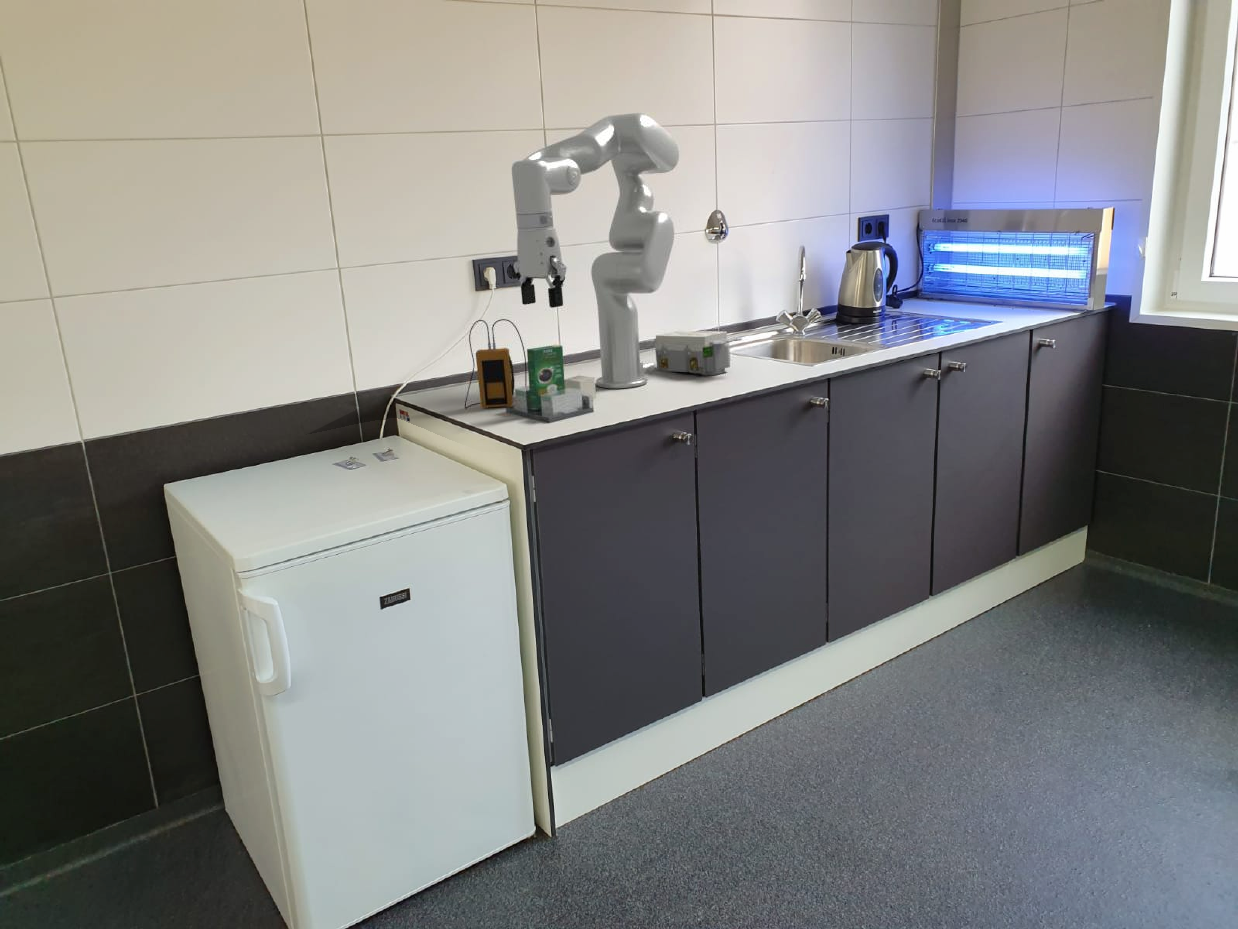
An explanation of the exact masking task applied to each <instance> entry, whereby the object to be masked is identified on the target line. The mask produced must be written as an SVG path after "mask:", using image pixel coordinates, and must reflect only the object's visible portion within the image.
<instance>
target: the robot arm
mask: <svg viewBox="0 0 1238 929" xmlns="http://www.w3.org/2000/svg"><path fill="white" fill-rule="evenodd" d="M679 159H680V151H679V147H678V144H677V142H676V140H675V138H674V137H673V136H672V135H671V134H670V133H669V132H668V131H667V130H666V129H665V128H663V126H662V125H660V124H659V123H658V122H656V120H654V119H653V118H651V117H650V116H648V115H646V114H645V113H641V112H634V113H633V112H632V113H625V114H614V115H608V116H605V117H603V118H601V119H599V120H598V121H596V122H595V123H593V124H591V125H590V126H588V127H587V128H586V129H584V130H583V131H581V132H579V133H578V134H576V135H573V136H570V137H568V138H565V139H563V140H561V141H558V142H556V143H553V144H549V145H547V146H544V147H542V148H540V149H538V150H536V151H534V152H533V153H530V154H529V155H528V156H526V157H525V158H524V159H522V160H517V161H515V162H514V163H512V166H511V176H512V177H511V178H512V188H513V197H514V198H513V199H514V206H515V218H516V228H517V229H516V230H517V238H516V244H517V245H516V248H517V249H516V250H517V252H516V253H517V261H515V262H514V263H513V269H514V272H515V277H516V278H517V280H518V285H519V286H520V293H521V303H522V304H523V305H525V306H526V305H531V304H536V302H537V300H536V291H535V284H533V281H534V279H538V280H540V279H542V280H543V279H545V282H546V283H547V284H548V287H549V288H547V292H548V293H547V294H548V303H549V308H553V309H554V308H557V307H563V306H564V298H563V297H564V296H563V288H562V287H564V282H565V279H566V272H567V269H568V268H567V265H565V264H564V263H563V261H562V254H561V253H562V252H561V246H560V242H559V237H558V233H557V230H556V228H554V219H553V206H552V196H559V195H560V196H561V195H568V194H570V193H572V192H574V191H576V189H577V188H578V187H579V185H580V183H581V179H582V175H585V174H586V175H587V174H588V173H592V172H595V171H598V170H599V169H600V168H601V167H603V166H604V165H606V164H607V163H608V162H609V161H611V165H612V169H613V171H614V173H615V177H616V181H617V185H618V189H619V197H618V200H617V204H616V207H615V211H614V213H613V214H614V215H613V218H612V221H611V225H610V229H609V232H608V242H609V245H610V246H611V248H612V249H614V250H615V251H613V252H606V253H602V254H600V255H598V256H597V257H595V259H594V260H593V262H592V265H591V270H590V272H591V273H590V274H591V280H592V284H593V287H594V288H593V289H594V292H595V296H596V303H597V313H598V314H597V316H598V317H597V318H598V332H599V349H600V364H601V365H600V366H601V377H600V376H599V378H596V379H595V386H597V387H600V388H606V389H627V388H628V389H629V388H635V387H636V388H637V387H640V386H643V385H646V383H648V377H647V376H645V373H646V372H651V371H653V370H655V367H656V366H655V364H654V362H648V363H645V364H644V363H643V362H641V357H640V336H639V315H638V313H639V312H638V309H637V305H636V304H635V301H634V299H633V298H632V296H631V295H630V294H653V293H655V292H656V291H658V290H659V289H660V287H661V285H662V283H663V280H664V277H665V274H666V270H667V266H668V263H669V260H670V256H671V252H672V248H673V244H674V240H675V239H674V238H675V226H674V223H673V220H672V218H671V216H669V214H667V213H666V212H664V211H660V210H653V207H654V203H655V202H654V200H655V198H654V195H653V194H654V193H653V192H652V189H651V187H650V186H649V184H648V183H647V182H646V180H645V179H644V176H643V175H651V174H652V175H653V174H665V173H669V172H671V171H673V170H674V169H675V168H676V166H677V165H678V162H679V161H680V160H679Z"/></svg>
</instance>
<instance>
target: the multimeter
mask: <svg viewBox="0 0 1238 929" xmlns="http://www.w3.org/2000/svg"><path fill="white" fill-rule="evenodd" d="M501 321H506V322H508V323H511V325H512V326H513V327H514V328H515V330H516V332H517V335H518V336H519V339H520V342H521V345H522V346H521V347H522V350H523V356H524V369H525V370H524V372H525V375H524V376H525V378H524V380H525V382H524V383H525V385H524V387H526V386H527V358H526V357H527V356H526V351H525V347H524V342H523V340H522V337H521V335H520V331H519V330H518V328H517V326H516V325H515V324H514V322H512V321H511V320H509V319H507V318H506V319H505V318H501V319H499V320H496V321H495V322H494V323H493V324H492V327H491V331H492V343H491V340H490V338H491V337H490V332H489V330H490V329H489V326H488V323H487V322H486V321H485V320H483V319H479V320H476V321H475V322H474V323H473V324H472V326H471V328H470V331H469V335H468V336H469V337H468V342H469V349H470V354H471V357H472V362H473V363H472V364H473V365H472V366H473V369H472V372H471V376H470V381H469V384H468V388H467V393H466V397H465V402H464V409H465V410H467V409H468V408H469V407H472V406H475V405H479V404H480V406H481V408H482V409H488V408H500V407H501V408H502V407H510V406H514V400H516V397H514V393H515V375H514V374H515V372H514V365H513V361H512V359H511V355H510V349H509V348H507V347H503V348H497V346H496V341H495V334H494V326H495V325H496V324H497V323H499V322H501ZM478 322H483V323H484V324H485V326H486V329H487V341H488V342H487V347H488V349H487V348H486V349H478V350H477V351H476V352H475V358H474V355H473V354H474V353H473V350H472V343H471V334H472V330H473V328H474V326H475V325H476V324H477V323H478ZM475 362H476V369H477V371H476V372H477V379H478V380H477V382H478V390H479V397H480V402H476V403H473V404H470V405H467V401H468V398H469V391H470V387H471V383H472V379H473V375H474V373H475V372H474V371H475Z"/></svg>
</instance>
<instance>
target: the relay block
mask: <svg viewBox="0 0 1238 929" xmlns="http://www.w3.org/2000/svg"><path fill="white" fill-rule="evenodd" d="M564 383H565V389H567V388H573V389H578V390H581V391H582V394H586V395H591V396H593V400H595V399H596V398H597V394H596V393H597V392H596V379H595V377H594V376H586V375H585V376H584V375H576V376H572V377H569V378H564Z"/></svg>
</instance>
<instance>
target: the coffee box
mask: <svg viewBox="0 0 1238 929" xmlns="http://www.w3.org/2000/svg"><path fill="white" fill-rule="evenodd" d="M563 349H564V348H563V345H559V344H552V345H547V346H539V347H533V348H527V349H526V355H527V356H526V357H527V358H526V359H527V370H528V371H527V372H528V386H529V390H530V404H531V408H532V409H536V410H537V409H541V408H542V406H541V394H545V393H549V392H554V391H558V390H563V389H565V383H564V379H565V368H564V350H563Z"/></svg>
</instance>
